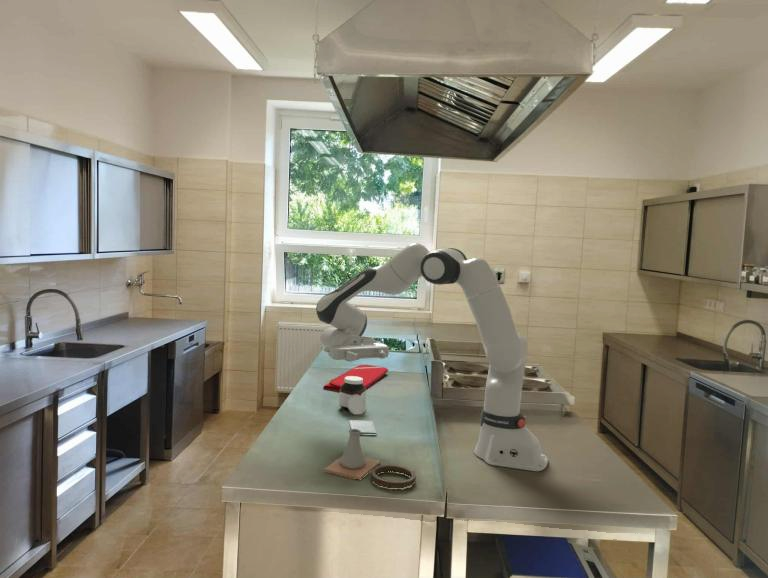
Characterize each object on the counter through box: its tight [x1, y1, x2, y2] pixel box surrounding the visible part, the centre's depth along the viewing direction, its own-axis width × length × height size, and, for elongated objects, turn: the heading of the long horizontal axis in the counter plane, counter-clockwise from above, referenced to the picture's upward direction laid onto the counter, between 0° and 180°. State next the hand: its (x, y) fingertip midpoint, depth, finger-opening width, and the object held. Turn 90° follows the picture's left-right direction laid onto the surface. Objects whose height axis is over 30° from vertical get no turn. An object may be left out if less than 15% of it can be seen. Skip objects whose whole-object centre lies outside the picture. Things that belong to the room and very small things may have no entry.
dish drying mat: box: [322, 364, 389, 392], centre depth 272 cm, size 16×41×4 cm, turn 162°
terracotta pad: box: [323, 456, 381, 481], centre depth 175 cm, size 11×14×1 cm
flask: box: [339, 429, 366, 469], centre depth 175 cm, size 7×7×10 cm
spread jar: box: [338, 376, 367, 415], centre depth 228 cm, size 12×11×12 cm
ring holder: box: [370, 464, 417, 488], centre depth 168 cm, size 12×12×2 cm
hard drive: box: [348, 419, 378, 435], centre depth 209 cm, size 2×8×12 cm
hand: (370, 356), depth 192 cm, fingers open, 8 cm apart
